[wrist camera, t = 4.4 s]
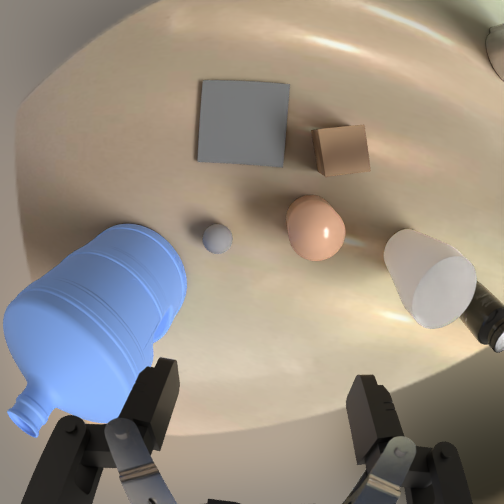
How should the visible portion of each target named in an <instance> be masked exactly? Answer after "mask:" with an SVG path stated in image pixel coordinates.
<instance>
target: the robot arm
mask: <svg viewBox="0 0 504 504" xmlns="http://www.w3.org/2000/svg"><path fill="white" fill-rule="evenodd" d="M486 49H487V53H488V57H489V59H490V62H491V64H492V66H493V68H494V69H495V71H496V73H497V74H498V75H499V77H500V78H501V79H502V80H503V81H504V24H500V25H497V26H494V27H491V28H490V34H489V35H488V37H487V39H486ZM179 387H180V382H179V374H178V365H177V361H176V360H173V359H167V358H161V357H160V358H159V359H158V361H157V363H156V366H155V368H154V367H149V366H147V367H146V368H145V369H144V370H143V371H141V372H140V373H139V375H138V377H137V379H136V381H135V383H134V385H133V387H132V390H131V392H130V394H129V396H128V398H127V400H126V402H125V404H124V406H123V408H122V410H121V413H120V415H119V416H118V417H117V418H115V419H113V420H111V421H109V422H108V423H107V424H101V425H100V424H85V423H84V421H83V420H82V419H81V418H79V417H77V416H74V415H68V416H65V417H63V418H61V419H60V420H59V421H58V422H57V424H56V426H55V428H54V430H53V432H52V434H51V436H50V438H49V440H48V443H47V445H46V447H45V449H44V451H43V453H42V455H41V457H40V460H39V462H38V464H37V466H36V469H35V471H34V473H33V475H32V478H31V480H30V482H29V485H28V487H27V490H26V492H25V495H24V497H23V500H22V502H21V504H92V503H93V499H94V496H95V493H96V490H97V486H98V483H99V480H100V477H101V474H102V471H103V468H117V469H118V472H119V474H120V476H119V478H120V481H121V483H122V486H123V488H124V490H125V493H126V495H127V497H128V499H129V501H130V503H131V504H177V502H176V501H175V499H174V497H173V496H172V494H171V492H170V490H169V489H168V487H167V485H166V483H165V482H164V480H163V478H162V476H161V474H160V472H159V470H158V469H157V467H156V465H155V464H154V462H153V460H152V458H151V453H152V451H153V450H157V451H160V450H161V446H162V444H163V440H164V437H165V434H166V431H167V428H168V425H169V422H170V419H171V415H172V412H173V409H174V406H175V403H176V400H177V397H178V394H179ZM346 409H347V414H348V419H349V423H350V429H351V433H352V439H353V444H354V449H355V455H356V460H357V465H361V464H366V470H365V471H364V473H363V474H362V476H361V477H360V479H359V481H358V482H357V484H356V485H355V487H354V488H353V490H352V491H351V492H350V494H349V495H348V497H347V498H346V499H345V501H344V502H343V503H342V504H396V502H397V500H398V499H399V497H400V494H401V491H399V489H400V487H404V488H405V494H406V500H407V504H473V503H472V499H471V495H470V492H469V488H468V484H467V480H466V477H465V473H464V470H463V467H462V464H461V461H460V457H459V454H458V451H457V449H456V447H455V446H454V445H452V444H451V443H449V442H440V443H438V444H437V445H435V447H434V448H428V447H419V446H415V444H414V443H413V441H412V440H410V439H408V438H407V437H405V436H404V434H403V431H402V428H401V425H400V422H399V419H398V416H397V413H396V411H395V407H394V404H393V403H392V398H391V396H390V393H389V392H388V391H387V389H386V388H385V387H384V386H383V385H377V382H376V379H375V376H374V375H357V376H356V378H355V380H354V382H353V385H352V387H351V389H350V391H349V394H348V396H347V400H346ZM206 504H240V503H236V502H230V501H222V500H214V499H208V503H206Z"/></svg>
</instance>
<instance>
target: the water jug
mask: <svg viewBox="0 0 504 504" xmlns="http://www.w3.org/2000/svg"><path fill="white" fill-rule="evenodd" d="M186 289H187V280H186V273H185V269H184V266H183V264H182V261H181V259H180V257H179V255H178V254H177V252H176V251H175V249H174V248H173V247H172V246H171V244H170V243H169V242H168V241H167V240H166V239H164V238H163V237H162V236H161V235H159V234H158V233H156V232H155V231H153V230H151V229H149V228H146V227H144V226H140V225H136V224H119V225H115V226H112V227H110V228H108V229H106V230H105V231H103V232H102V233H100V234H99V235H98V236H97V237H96V238H95V239H93V240H92V241H90V242H89V243H88V244H86V245H85V246H83V247H81V248H79V249H77V250H76V251H74V252H73V253H71V254H70V255H68V256H67V257H66V258H65V259H64V260H62V261H61V263H60V264H58V265H57V266H56V267H54V268H53V269H52V270H50V271H49V272H48V273H46V274H45V275H44V276H42V277H41V278H40V279H38V280H36V281H34V282H33V283H31V284H30V285H29V286H27V287H26V288H25V289H24V290H22V292H20V293H19V294H18V295H17V297H16V298H15V299H14V300H13V301H12V302H11V303H10V304H9V305H8V307H7V309H6V311H5V314H4V319H3V329H4V335H5V339H6V343H7V346H8V348H9V351H10V353H11V355H12V356H13V359H14V360H15V362H16V364H17V366H18V367H19V369H20V371H21V372H22V374H23V375H24V377H25V379H26V381H27V386H26V388H25V389H24V391H23V392H22V393H21V394H20V395H19V396H18V397H17V399H16V403H15V405H14V406H13V407H12V408H10V409H9V410H8V411H7V413H8V415H9V417H10V418H11V420H12V421H13V422H14V423H15V424H16V425H17V426H18V427H19V428H20V429H22V430H23V431H24V432H26V433H27V434H29V435H30V436H32V437H35V438H37V437H38V435H39V430H40V428H41V426H42V425H44V424H46V422H47V420H48V417H49V415H50V414H51V412H52V410H53V409H55V408H59V409H61V410H63V411H65V412H67V413H70V414H72V415H74V416H77V417H79V418H82V419H85V420H88V421H92V422H98V423H108V422H109V421H111V420H113V419H115V418H117V417H118V416H119V415H120V413H121V410H122V408H123V406H124V404H125V402H126V400H127V398H128V396H129V394H130V392H131V390H132V387H133V385H134V383H135V381H136V379H137V377H138V375H139V373H140V372H141V371H143V370H144V369H145V368H146V367H147V366H149V367H151V365H152V362H153V343H154V342H156V341H158V340H159V339H160V338H162V337H163V336H164V335H165V333H166V332H167V331H168V329H169V327H170V325H171V323H172V321H173V319H174V317H175V315H176V314H177V313H178V311H179V309H180V308H181V305H182V303H183V301H184V299H185V295H186Z"/></svg>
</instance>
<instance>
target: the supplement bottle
mask: <svg viewBox="0 0 504 504" xmlns="http://www.w3.org/2000/svg"><path fill="white" fill-rule="evenodd" d="M459 318H460V319H461V320H462V321H463V323H464V324H465V325H466V326H467V328H468V329H469V330H470V331H471V333H472V334H473V335H474V336H475V338H476V339H477V340H478V341H479V342H480V343H481V344H484V345H488V344H489V346H490V347H491V348H492V349H493V350H494V351H495V352H497V353H498V352H502V351H503V350H504V305H503V304H502V303H501V302H500V301H499V300H498V299H497V298H496V297H495V296H494V295H493V294H492V293H491V292H490V291H489V290H488V289H487V288H485V287H484V286H483V285H482V284H481V283H479V282H476V289H475V293H474V295H473V298H472V300H471V302H470V304H469V305H468V307H467V308H466V310H465V311H464V312H463V313H462V314H461V315H460V316H459Z"/></svg>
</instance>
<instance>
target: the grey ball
mask: <svg viewBox="0 0 504 504" xmlns="http://www.w3.org/2000/svg"><path fill="white" fill-rule="evenodd" d="M232 240H233V237H232V233H231V231H230V230H229V229H228V228H227V227H226V226H224V225H222V224H214V225H211V226H209V227H208V228H207V229H206V230H205V232H204V234H203V244H204V246H205V248H206V249H207V250H208V251H210V252H211V253H214V254H221V253H224V252H226V251H227V250H228V249H229V248H230V246H231V244H232Z"/></svg>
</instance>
